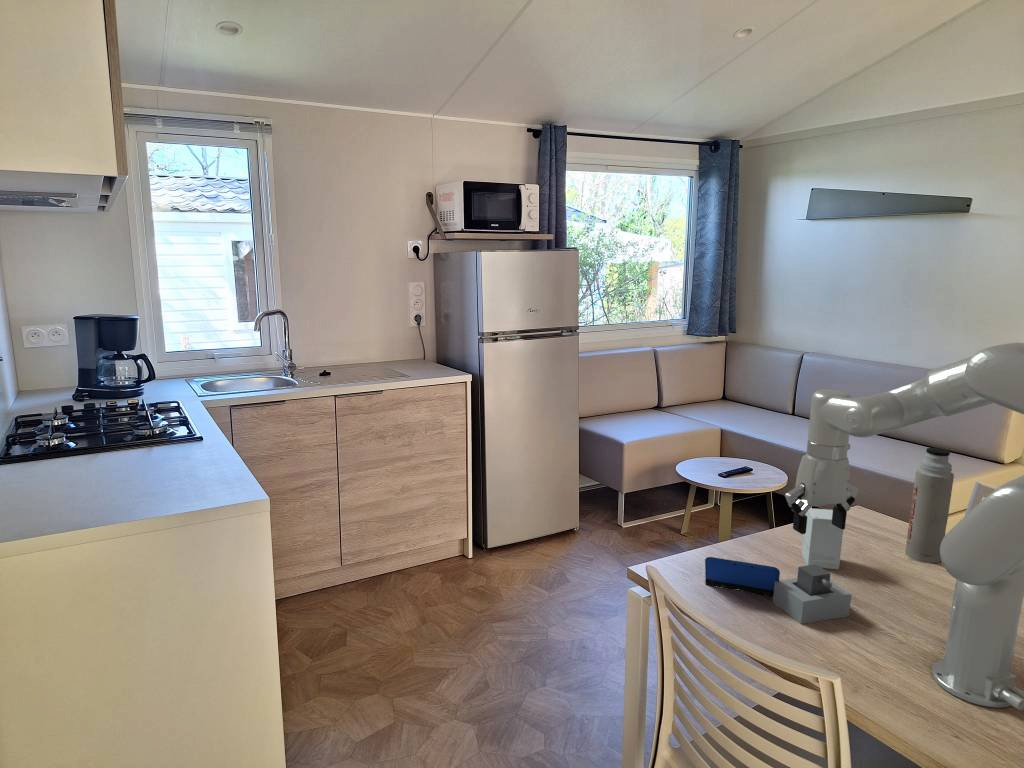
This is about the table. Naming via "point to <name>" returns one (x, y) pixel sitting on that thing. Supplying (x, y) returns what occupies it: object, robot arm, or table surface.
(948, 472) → the thermos bottle
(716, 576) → the handheld game console
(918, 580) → the table surface
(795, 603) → the socket
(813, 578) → the plug
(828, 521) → the supplement box
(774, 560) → the table surface
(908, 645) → the table surface
